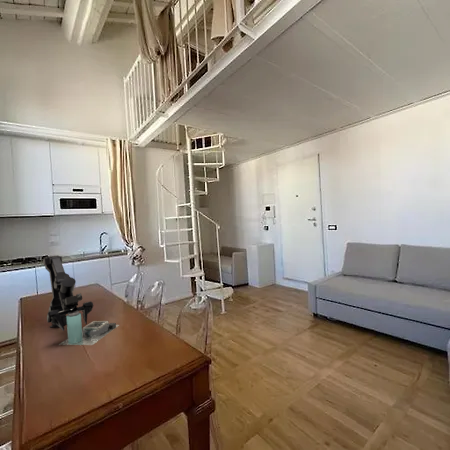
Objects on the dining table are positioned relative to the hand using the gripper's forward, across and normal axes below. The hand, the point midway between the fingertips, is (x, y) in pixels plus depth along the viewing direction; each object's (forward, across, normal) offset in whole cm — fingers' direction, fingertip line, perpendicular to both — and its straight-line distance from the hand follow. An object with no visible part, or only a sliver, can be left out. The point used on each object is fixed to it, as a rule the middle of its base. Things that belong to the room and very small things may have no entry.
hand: (75, 327), depth 120 cm
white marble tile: (+3, +7, +8) cm, 11 cm away
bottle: (+4, 0, +6) cm, 7 cm away
